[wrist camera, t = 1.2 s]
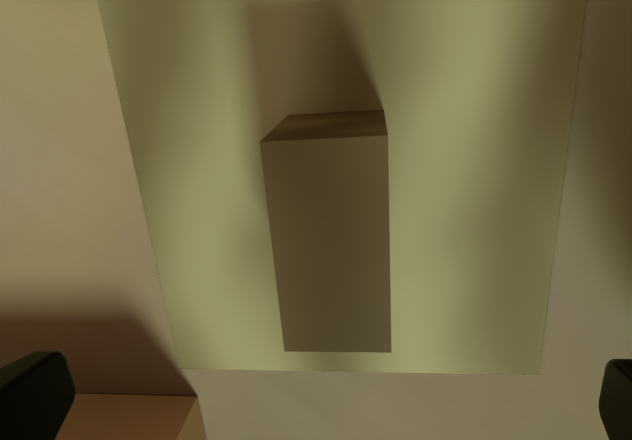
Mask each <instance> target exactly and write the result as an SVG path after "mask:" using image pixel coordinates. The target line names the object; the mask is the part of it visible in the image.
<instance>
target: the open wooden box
mask: <svg viewBox="0 0 632 440" xmlns="http://www.w3.org/2000/svg"><path fill="white" fill-rule="evenodd" d="M55 440H206V436H205V431H204V427H203V422H202V417H201V412H200V407H199V402H198V398H197V397H196V396H157V395H117V394H77V393H75V399H74V402H73V404H72V406H71V408H70V410H69V412H68V414H67V416H66V418H65V420H64V422H63V424H62V426H61V428H60V430H59V432H58V434H57V436H56V438H55Z"/></svg>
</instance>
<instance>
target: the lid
mask: <svg viewBox="0 0 632 440" xmlns="http://www.w3.org/2000/svg"><path fill="white" fill-rule="evenodd" d="M586 1H587V0H98V4H99V9H100V13H101V18H102V22H103V27H104V31H105V36H106V40H107V45H108V49H109V54H110V58H111V63H112V67H113V72H114V76H115V81H116V85H117V90H118V94H119V99H120V103H121V108H122V112H123V117H124V121H125V126H126V130H127V135H128V139H129V144H130V148H131V153H132V157H133V162H134V166H135V171H136V175H137V180H138V184H139V189H140V193H141V198H142V202H143V207H144V211H145V216H146V220H147V225H148V229H149V234H150V238H151V243H152V247H153V252H154V256H155V261H156V265H157V270H158V274H159V279H160V283H161V288H162V292H163V297H164V301H165V306H166V310H167V315H168V319H169V324H170V328H171V333H172V337H173V342H174V346H175V351H176V355H177V360H178V364H179V369H224V370H284V371H343V372H403V373H463V374H522V375H539V369H540V361H541V353H542V346H543V338H544V330H545V322H546V314H547V306H548V299H549V291H550V283H551V275H552V267H553V259H554V252H555V244H556V236H557V228H558V220H559V212H560V205H561V197H562V189H563V181H564V173H565V165H566V158H567V150H568V142H569V134H570V126H571V118H572V111H573V103H574V95H575V87H576V79H577V71H578V64H579V56H580V48H581V40H582V32H583V24H584V17H585V9H586Z"/></svg>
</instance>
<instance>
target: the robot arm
mask: <svg viewBox="0 0 632 440" xmlns="http://www.w3.org/2000/svg"><path fill="white" fill-rule="evenodd" d="M75 393H76V389H75V384H74V381H73V378H72V375H71V372H70V369H69V366H68V363H67V360H66V357H65V355H64V354H63V353H62V352H59V351H36V352H34V353H31V354H29V355H27V356H25V357H23V358H21V359H19V360H17V361H14V362H12V363H10V364H8V365H6V366H4V367H2V368H0V440H55V438H56V436H57V434H58V432H59V430H60V428H61V426H62V424H63V422H64V420H65V418H66V416H67V414H68V412H69V410H70V408H71V406H72V404H73V402H74V399H75ZM599 412H600V416H601V419H602V422H603V425H604V427H605V430H606V432H607V435H608V438H609V440H632V359H612V360H610V361H608V363H607V364H606V367H605V371H604V377H603V382H602V387H601V392H600V398H599Z"/></svg>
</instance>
